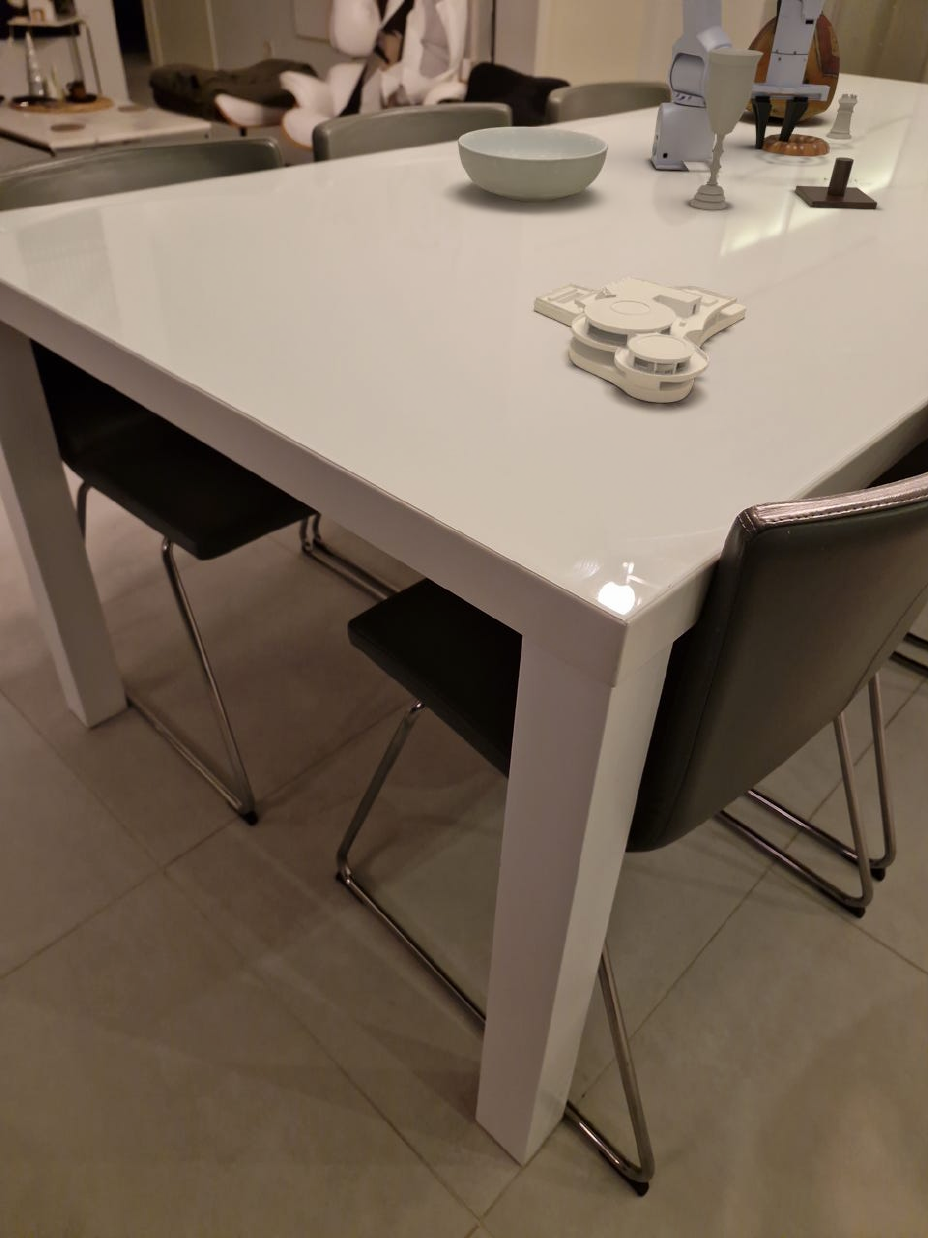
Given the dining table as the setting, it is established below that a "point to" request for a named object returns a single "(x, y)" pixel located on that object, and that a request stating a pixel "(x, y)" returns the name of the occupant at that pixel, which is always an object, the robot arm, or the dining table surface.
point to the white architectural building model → (641, 332)
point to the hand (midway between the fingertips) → (769, 148)
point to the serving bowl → (532, 161)
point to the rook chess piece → (843, 118)
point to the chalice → (725, 110)
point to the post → (837, 190)
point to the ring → (796, 145)
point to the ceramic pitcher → (818, 67)
